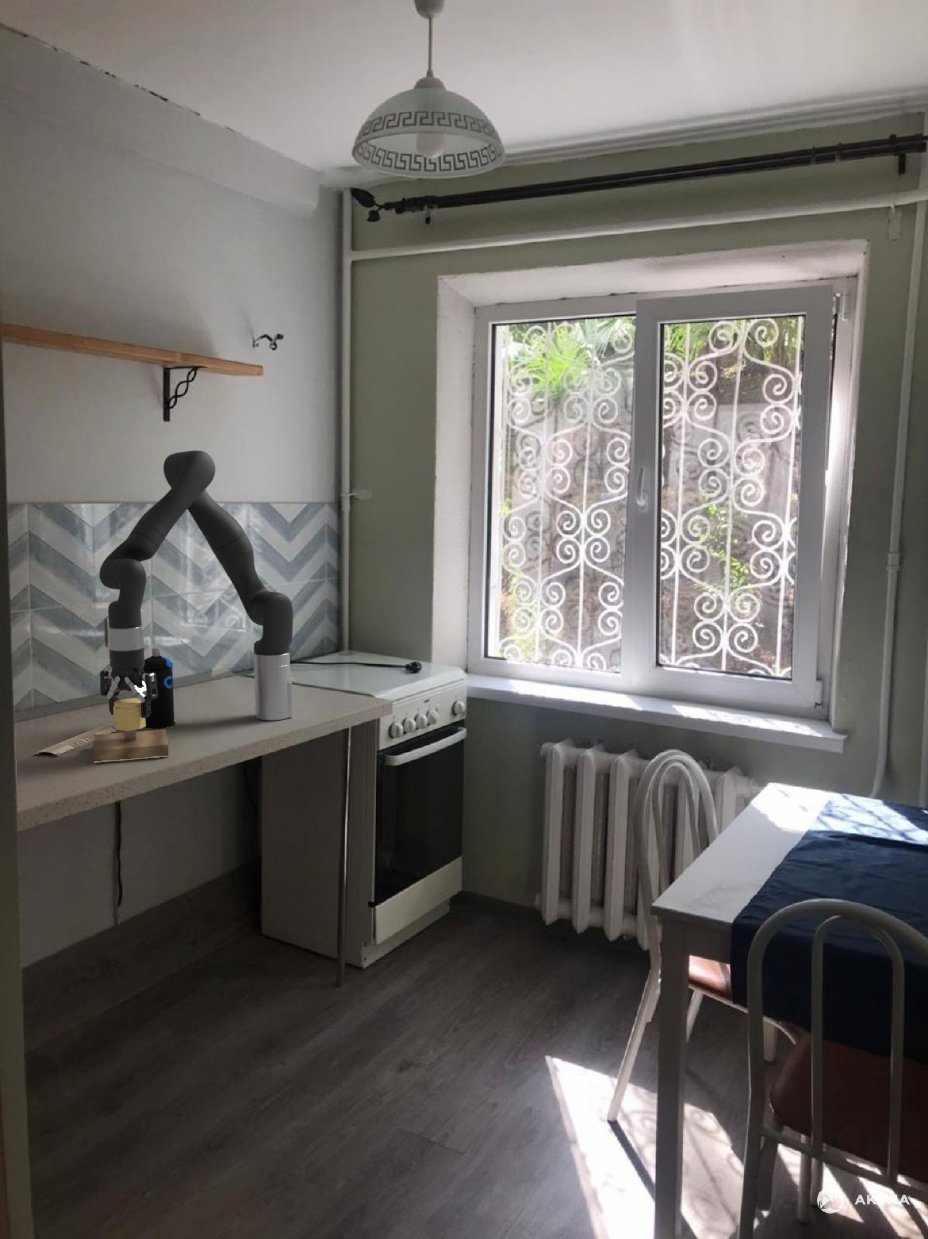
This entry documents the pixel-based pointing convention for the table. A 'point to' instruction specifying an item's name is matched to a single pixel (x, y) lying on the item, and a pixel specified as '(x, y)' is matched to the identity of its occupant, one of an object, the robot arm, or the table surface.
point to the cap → (128, 715)
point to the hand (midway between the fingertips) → (130, 715)
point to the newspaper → (78, 740)
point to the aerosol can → (160, 691)
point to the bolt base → (130, 745)
